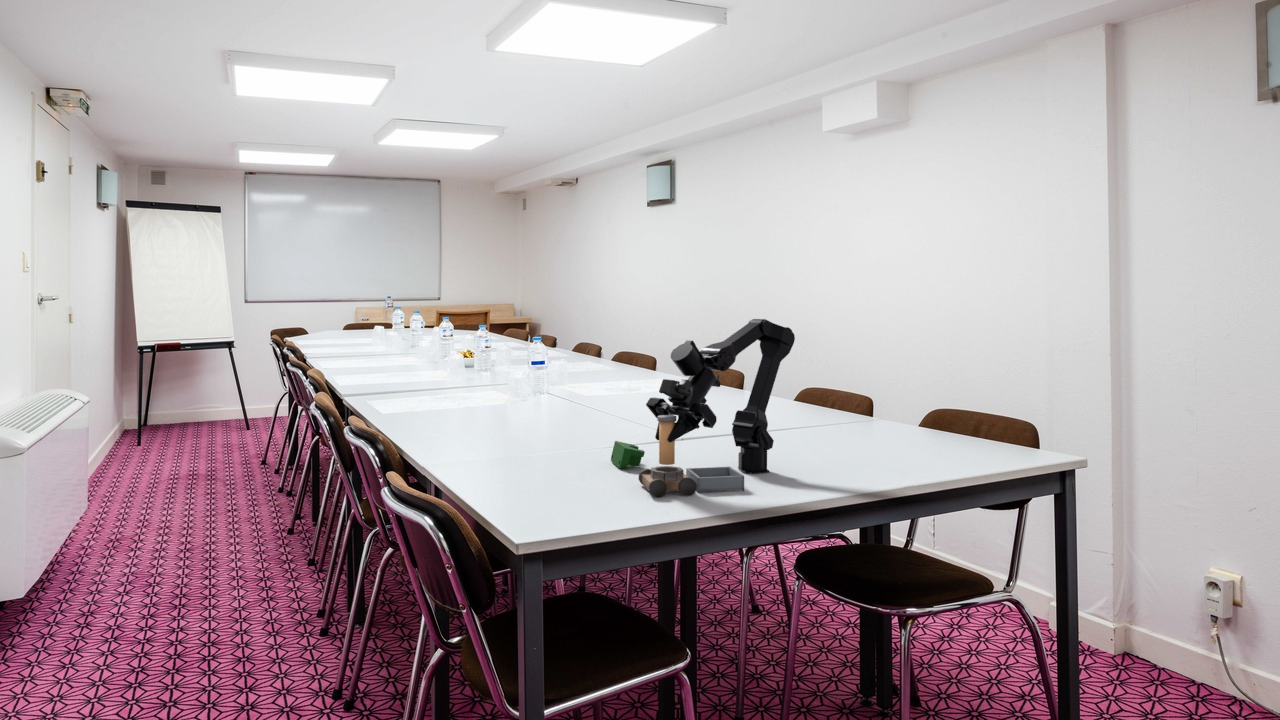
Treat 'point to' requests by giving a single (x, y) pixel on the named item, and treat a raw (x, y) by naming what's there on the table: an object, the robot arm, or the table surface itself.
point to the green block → (626, 455)
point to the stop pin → (664, 446)
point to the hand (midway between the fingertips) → (662, 440)
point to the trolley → (667, 481)
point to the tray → (716, 479)
